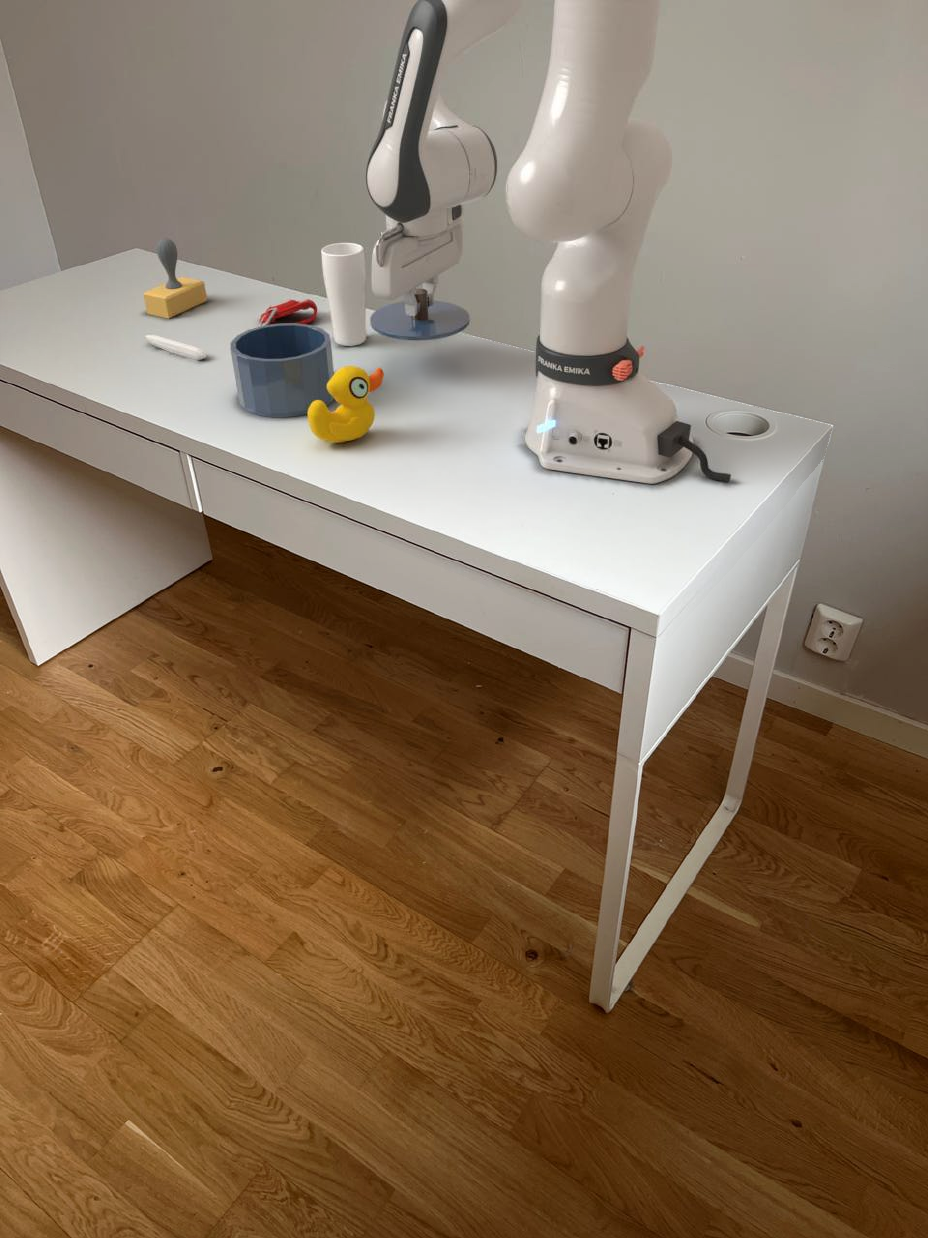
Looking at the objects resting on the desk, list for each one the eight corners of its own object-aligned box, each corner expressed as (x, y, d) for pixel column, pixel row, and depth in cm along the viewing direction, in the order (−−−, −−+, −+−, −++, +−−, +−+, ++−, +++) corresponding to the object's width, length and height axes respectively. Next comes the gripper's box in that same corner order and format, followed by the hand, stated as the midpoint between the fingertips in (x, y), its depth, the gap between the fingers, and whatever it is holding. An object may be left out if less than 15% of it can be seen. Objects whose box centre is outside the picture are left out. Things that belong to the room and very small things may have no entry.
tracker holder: (258, 306, 178) (312, 289, 178) (267, 331, 180) (320, 314, 179) (251, 315, 167) (309, 296, 166) (261, 341, 169) (318, 323, 168)
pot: (354, 387, 153) (349, 332, 148) (296, 425, 143) (289, 368, 138) (279, 370, 159) (272, 316, 153) (219, 405, 149) (209, 349, 144)
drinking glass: (321, 344, 166) (311, 252, 157) (344, 330, 171) (336, 240, 162) (356, 351, 164) (348, 257, 155) (378, 337, 169) (372, 245, 160)
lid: (487, 317, 157) (487, 284, 154) (437, 351, 147) (436, 316, 144) (405, 301, 163) (403, 268, 160) (350, 332, 153) (348, 298, 150)
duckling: (377, 420, 144) (372, 352, 138) (395, 434, 140) (391, 365, 134) (304, 440, 139) (295, 371, 133) (321, 456, 135) (313, 385, 129)
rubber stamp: (185, 296, 186) (172, 228, 179) (208, 301, 184) (197, 233, 177) (146, 313, 180) (131, 244, 172) (170, 318, 177) (156, 248, 170)
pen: (150, 341, 169) (148, 331, 168) (209, 359, 163) (208, 349, 162) (143, 344, 168) (140, 334, 167) (202, 362, 162) (200, 352, 161)
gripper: (395, 237, 137) (400, 336, 145) (470, 200, 151) (470, 292, 159) (357, 231, 139) (364, 328, 148) (433, 195, 154) (436, 286, 162)
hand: (420, 309), depth 154 cm, fingers closed on lid, 2 cm apart
